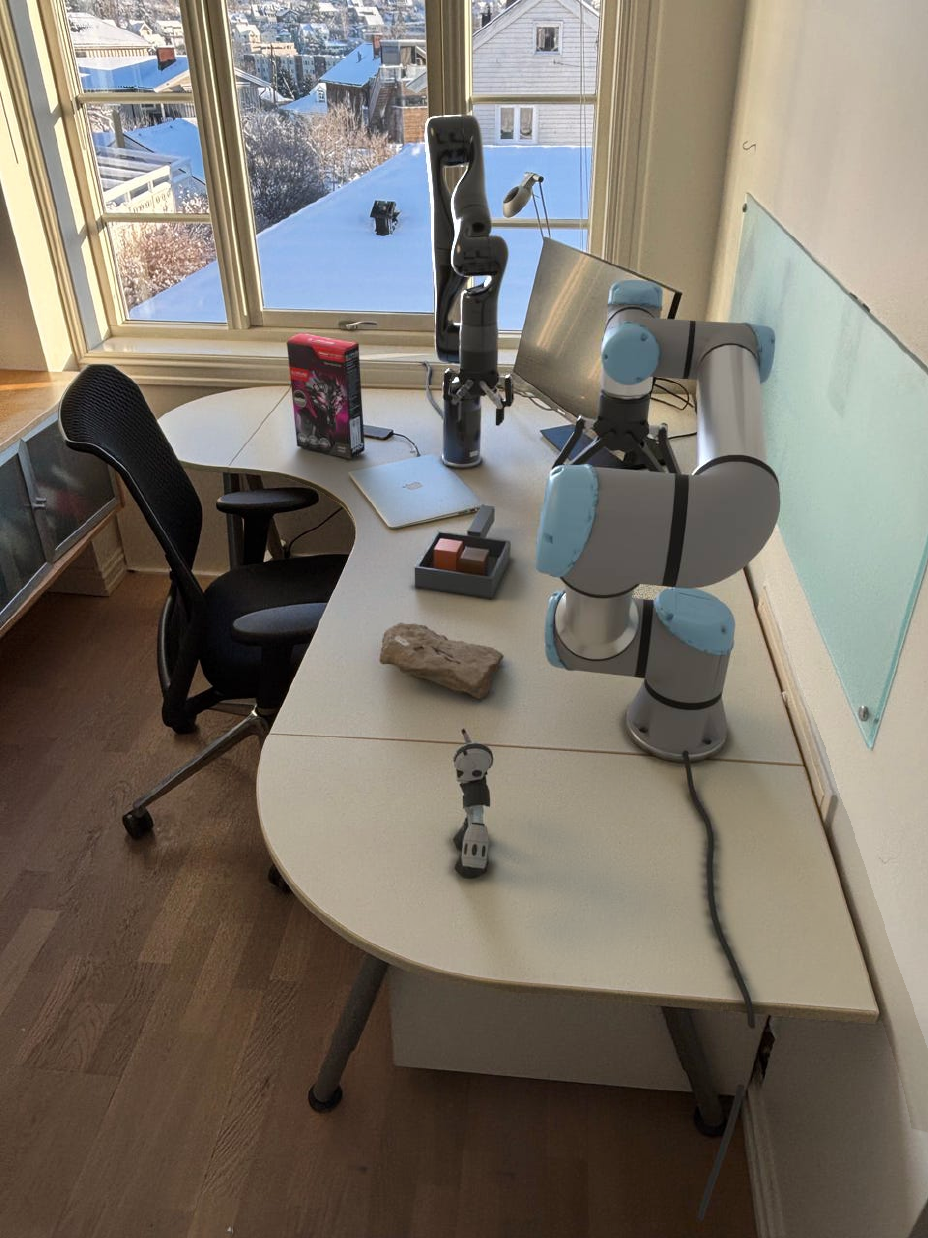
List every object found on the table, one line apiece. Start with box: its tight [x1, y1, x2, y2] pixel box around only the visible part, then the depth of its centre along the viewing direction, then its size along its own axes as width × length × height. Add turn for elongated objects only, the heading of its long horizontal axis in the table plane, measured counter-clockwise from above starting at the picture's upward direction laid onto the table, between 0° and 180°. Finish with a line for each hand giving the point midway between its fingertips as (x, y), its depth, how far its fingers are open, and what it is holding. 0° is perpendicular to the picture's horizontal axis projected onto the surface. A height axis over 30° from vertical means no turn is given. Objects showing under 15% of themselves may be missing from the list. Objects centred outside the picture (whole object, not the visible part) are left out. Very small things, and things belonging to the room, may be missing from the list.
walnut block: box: [460, 547, 489, 577], centre depth 177 cm, size 4×4×6 cm
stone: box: [379, 622, 505, 699], centre depth 153 cm, size 21×15×6 cm
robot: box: [452, 728, 494, 879], centre depth 116 cm, size 20×5×20 cm, turn 3°
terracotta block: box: [434, 538, 463, 572], centre depth 180 cm, size 4×4×6 cm
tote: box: [414, 504, 511, 600], centre depth 185 cm, size 27×15×6 cm, turn 165°
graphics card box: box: [286, 332, 366, 459], centre depth 224 cm, size 17×7×27 cm, turn 62°
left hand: (478, 422), depth 189 cm, fingers open, 8 cm apart
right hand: (611, 518), depth 149 cm, fingers open, 13 cm apart
